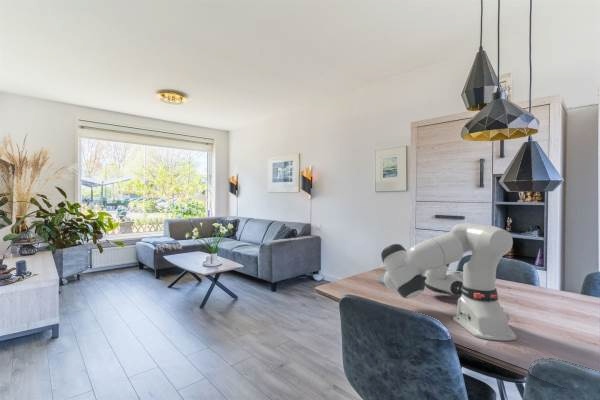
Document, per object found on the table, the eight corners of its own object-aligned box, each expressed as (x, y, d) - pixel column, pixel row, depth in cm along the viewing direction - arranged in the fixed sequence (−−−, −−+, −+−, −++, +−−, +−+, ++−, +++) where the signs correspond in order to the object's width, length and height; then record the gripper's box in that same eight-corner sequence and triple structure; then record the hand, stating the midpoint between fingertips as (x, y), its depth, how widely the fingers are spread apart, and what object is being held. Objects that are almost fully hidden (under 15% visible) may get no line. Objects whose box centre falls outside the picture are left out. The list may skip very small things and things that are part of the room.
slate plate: (423, 288, 157) (423, 285, 157) (380, 287, 161) (380, 283, 161) (413, 277, 179) (413, 273, 179) (376, 275, 182) (376, 272, 182)
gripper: (425, 283, 155) (418, 276, 169) (466, 285, 152) (456, 277, 166) (425, 271, 155) (418, 265, 169) (466, 273, 152) (456, 266, 166)
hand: (437, 271), depth 167 cm, fingers closed on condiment, 6 cm apart
